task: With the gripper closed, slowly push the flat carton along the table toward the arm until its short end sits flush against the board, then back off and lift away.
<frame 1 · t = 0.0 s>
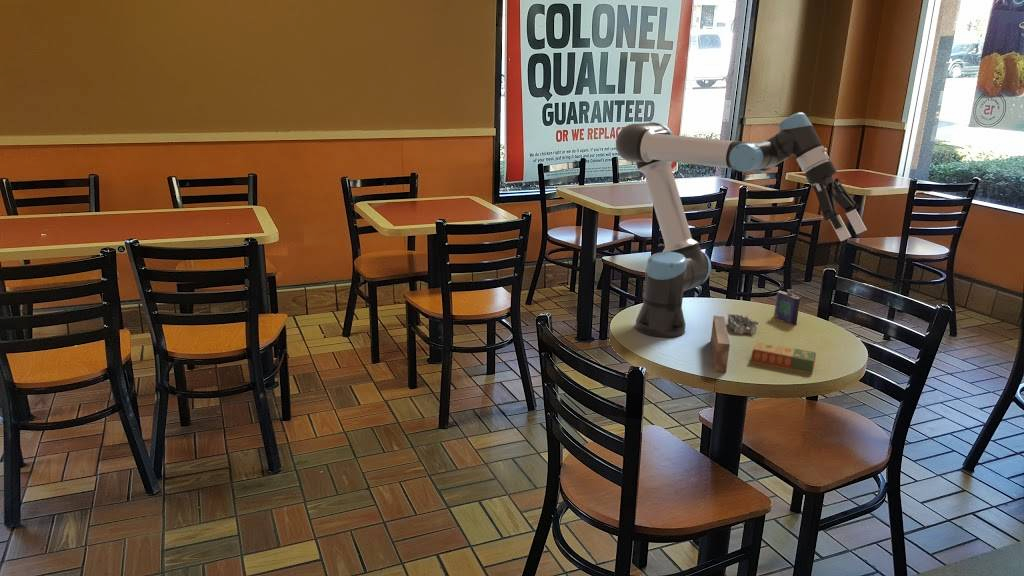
hand: (854, 235, 198), 36 cm above the table, tool tilted 35°, fingers open, 13 cm apart
carton: (782, 365, 205), on the table
board: (717, 355, 208), on the table
egg carton: (740, 329, 232), on the table
flask: (785, 321, 241), on the table
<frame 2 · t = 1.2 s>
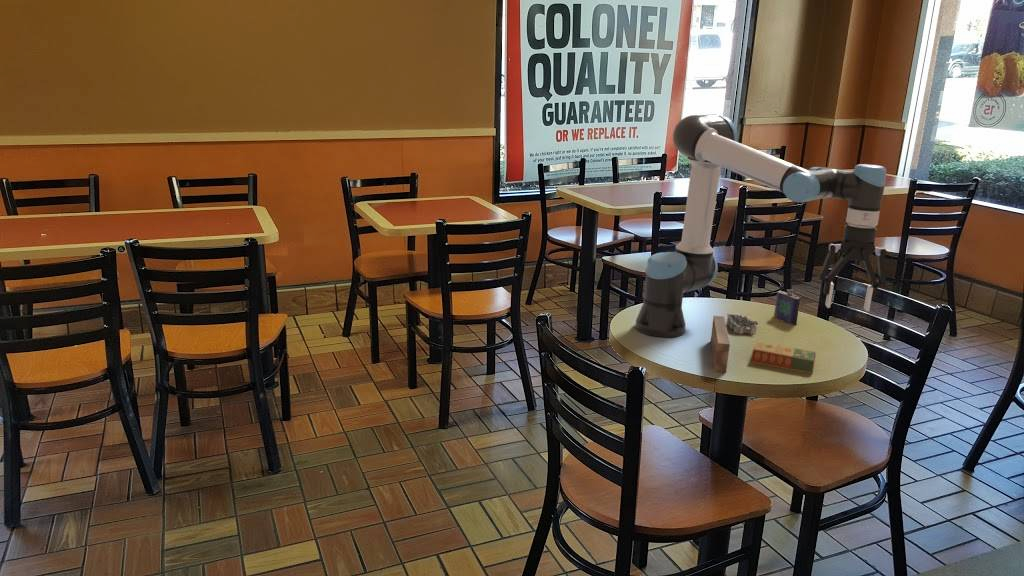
hand: (846, 307, 197), 18 cm above the table, tool pointing down, fingers open, 9 cm apart
nothing on the table moved.
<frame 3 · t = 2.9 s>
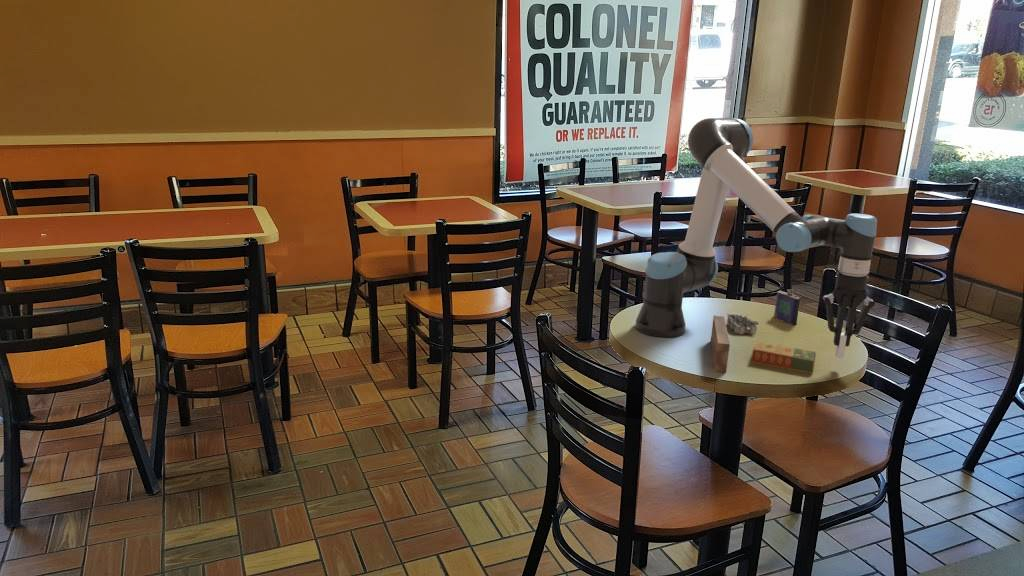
hand: (839, 356, 200), 4 cm above the table, tool pointing down, fingers closed
nothing on the table moved.
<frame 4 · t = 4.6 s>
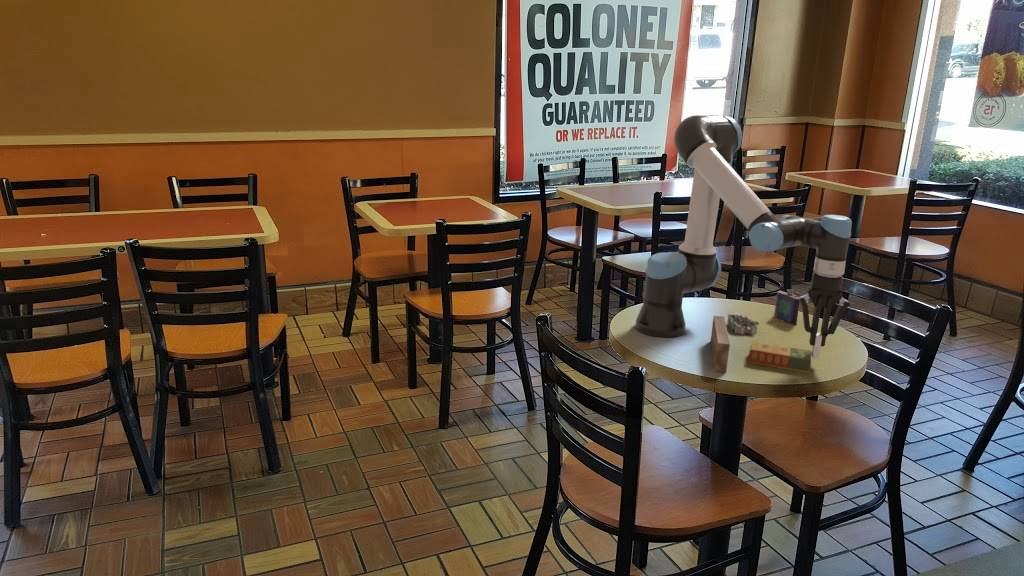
hand: (814, 356, 202), 3 cm above the table, tool pointing down, fingers closed
carton: (778, 364, 204), on the table
everything else where it was.
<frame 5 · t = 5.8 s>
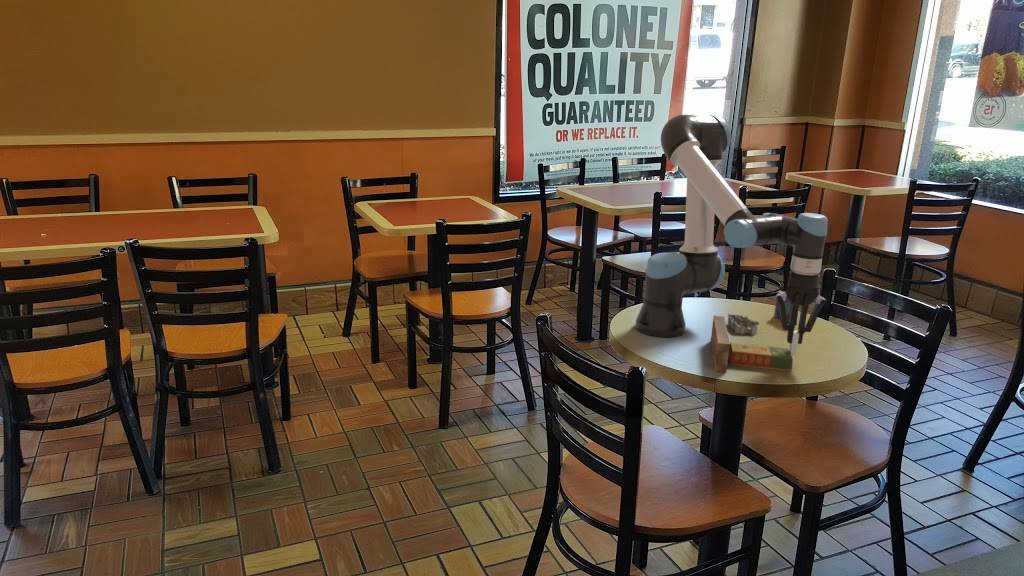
hand: (792, 354, 203), 3 cm above the table, tool pointing down, fingers closed
carton: (758, 364, 204), on the table, touching gripper
everything else where it was.
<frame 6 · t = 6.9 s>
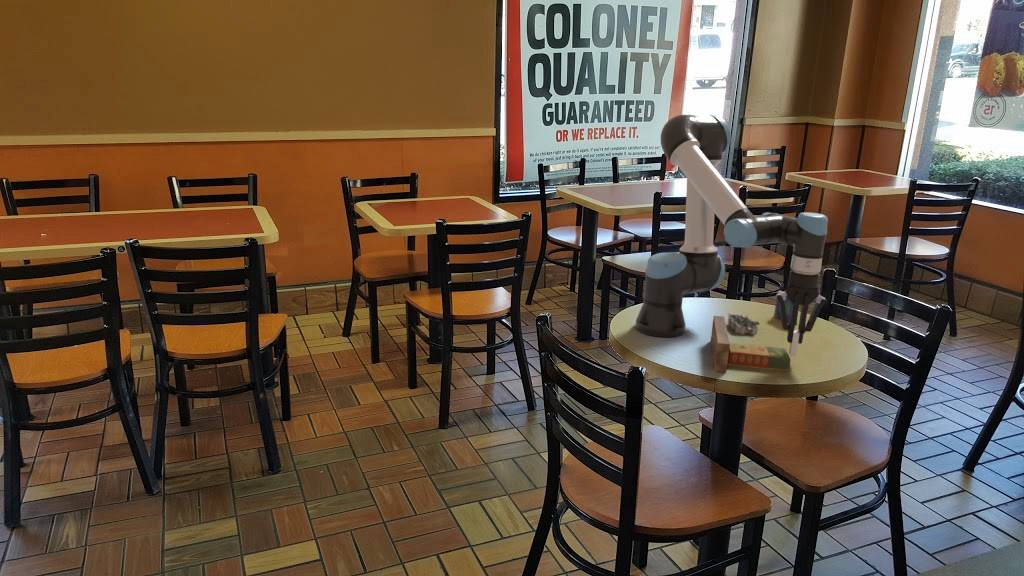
hand: (792, 353, 203), 3 cm above the table, tool pointing down, fingers closed
carton: (756, 364, 204), on the table
everything else where it was.
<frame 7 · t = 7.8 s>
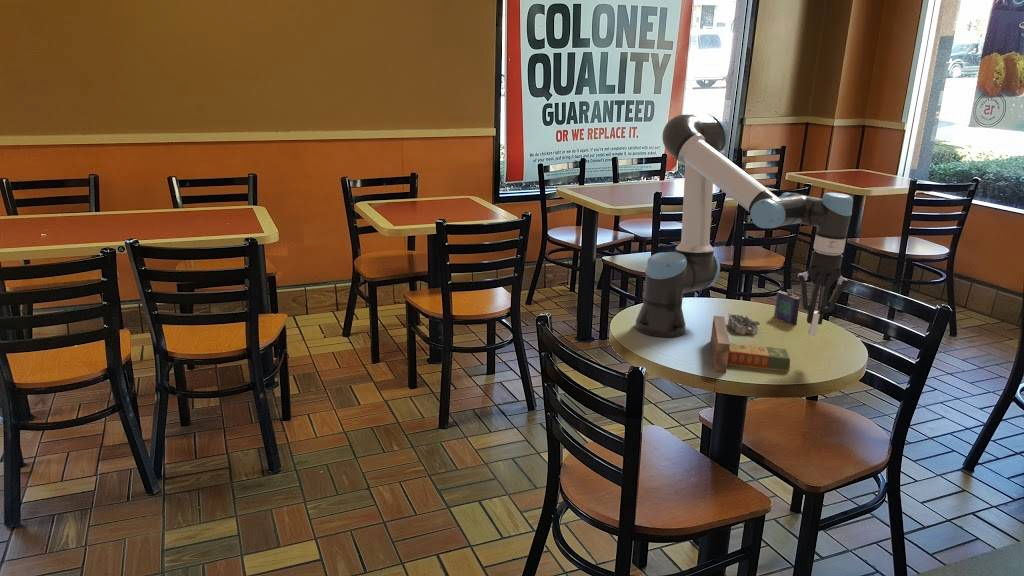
hand: (811, 334, 203), 8 cm above the table, tool pointing down, fingers closed
nothing on the table moved.
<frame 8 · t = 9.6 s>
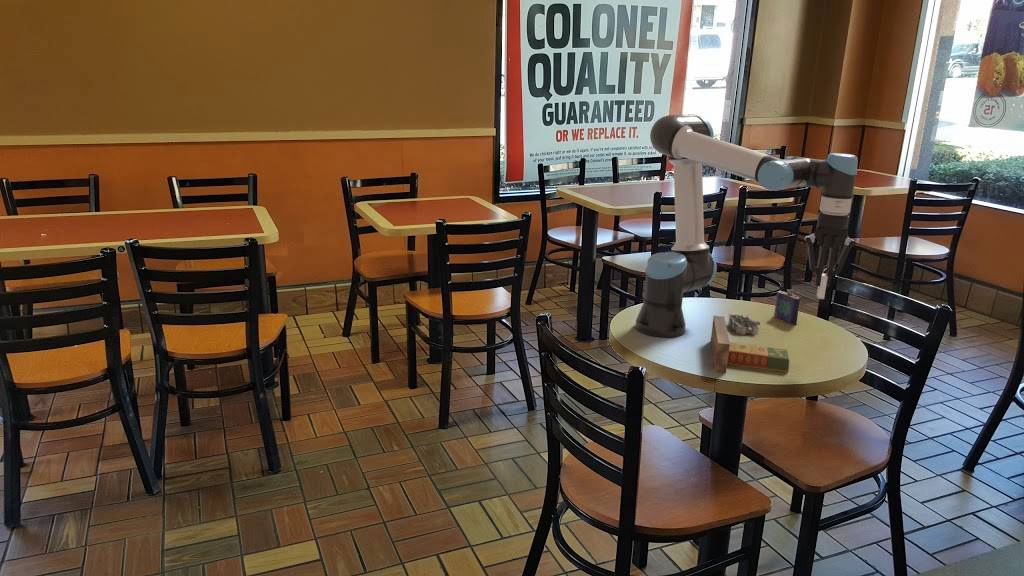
hand: (820, 297, 202), 18 cm above the table, tool pointing down, fingers closed
nothing on the table moved.
at the end: carton 1.9 cm from the target spot on the table beside the board, on the table; carton tilted 0° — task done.
